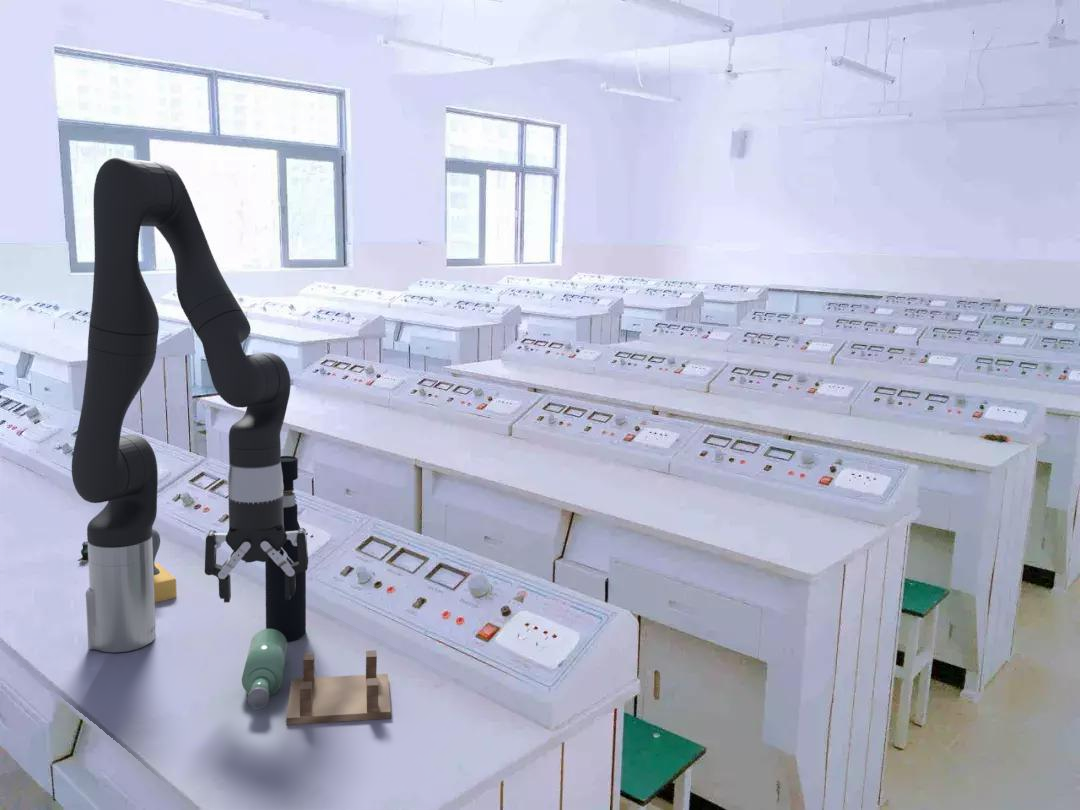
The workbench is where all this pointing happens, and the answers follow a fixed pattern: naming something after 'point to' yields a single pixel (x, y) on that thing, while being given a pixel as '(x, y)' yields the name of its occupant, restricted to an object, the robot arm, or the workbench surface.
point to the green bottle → (264, 666)
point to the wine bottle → (278, 610)
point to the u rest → (338, 695)
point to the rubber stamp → (161, 575)
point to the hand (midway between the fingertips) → (258, 599)
